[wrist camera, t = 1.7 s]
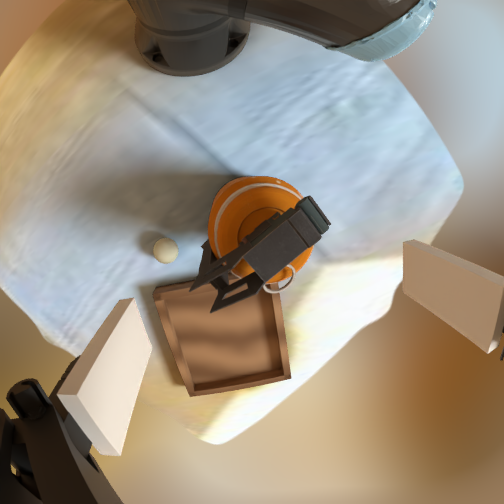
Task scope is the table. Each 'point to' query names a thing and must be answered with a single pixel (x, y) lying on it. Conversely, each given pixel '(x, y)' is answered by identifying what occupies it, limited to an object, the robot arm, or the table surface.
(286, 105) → the table surface
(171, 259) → the ball
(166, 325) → the tray
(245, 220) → the canister
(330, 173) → the table surface
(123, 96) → the table surface
